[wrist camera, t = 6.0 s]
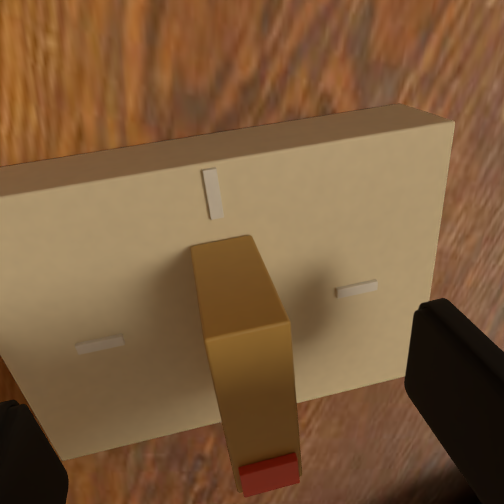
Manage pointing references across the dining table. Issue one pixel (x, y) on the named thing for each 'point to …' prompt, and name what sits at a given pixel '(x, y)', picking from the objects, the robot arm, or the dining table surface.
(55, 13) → the dining table surface
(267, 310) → the lock knob
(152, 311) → the lock plate
